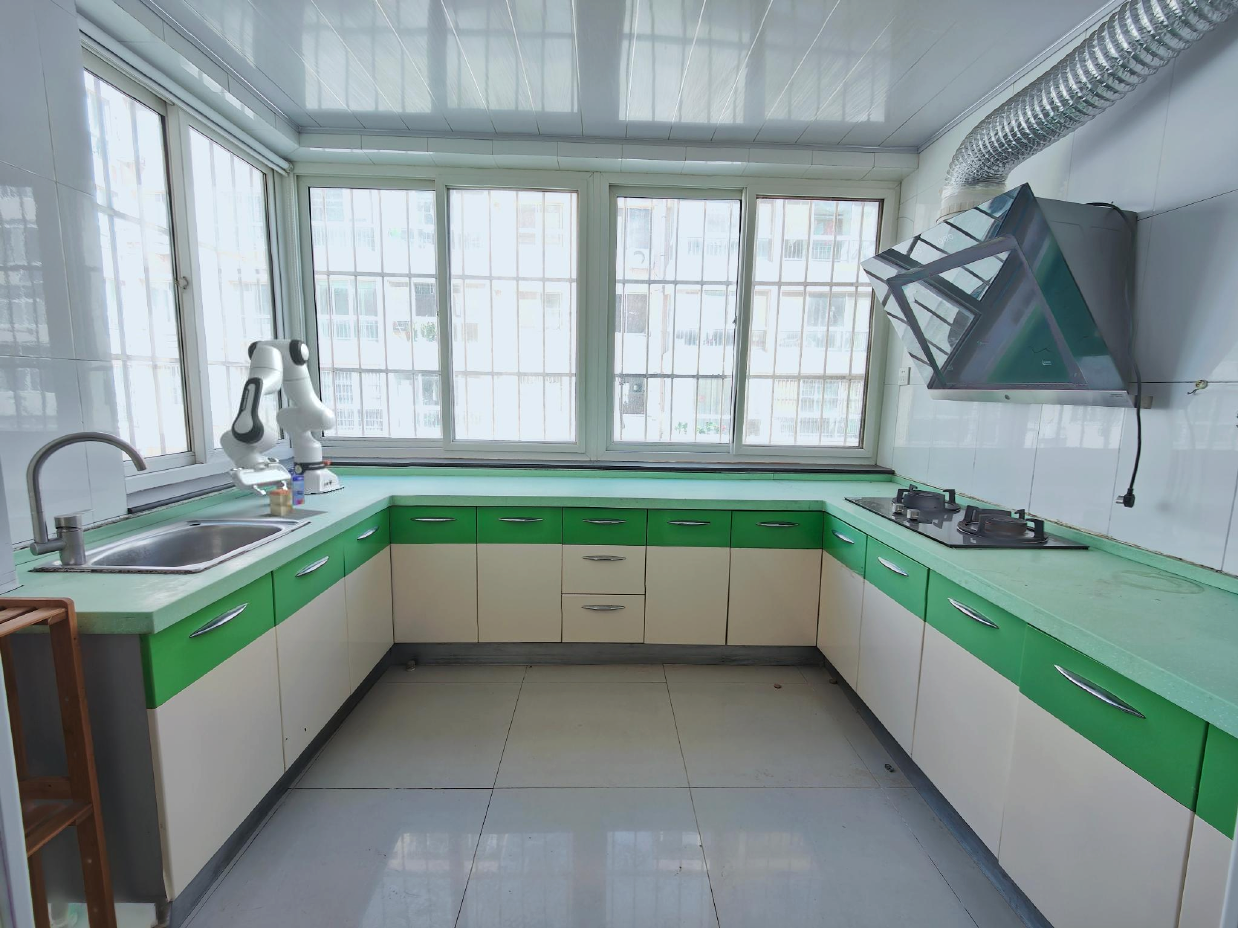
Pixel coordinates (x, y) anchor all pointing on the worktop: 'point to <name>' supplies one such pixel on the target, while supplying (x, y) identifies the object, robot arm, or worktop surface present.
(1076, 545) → the worktop surface
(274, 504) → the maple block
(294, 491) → the ink cartridge box
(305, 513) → the rubber mat
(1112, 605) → the worktop surface
